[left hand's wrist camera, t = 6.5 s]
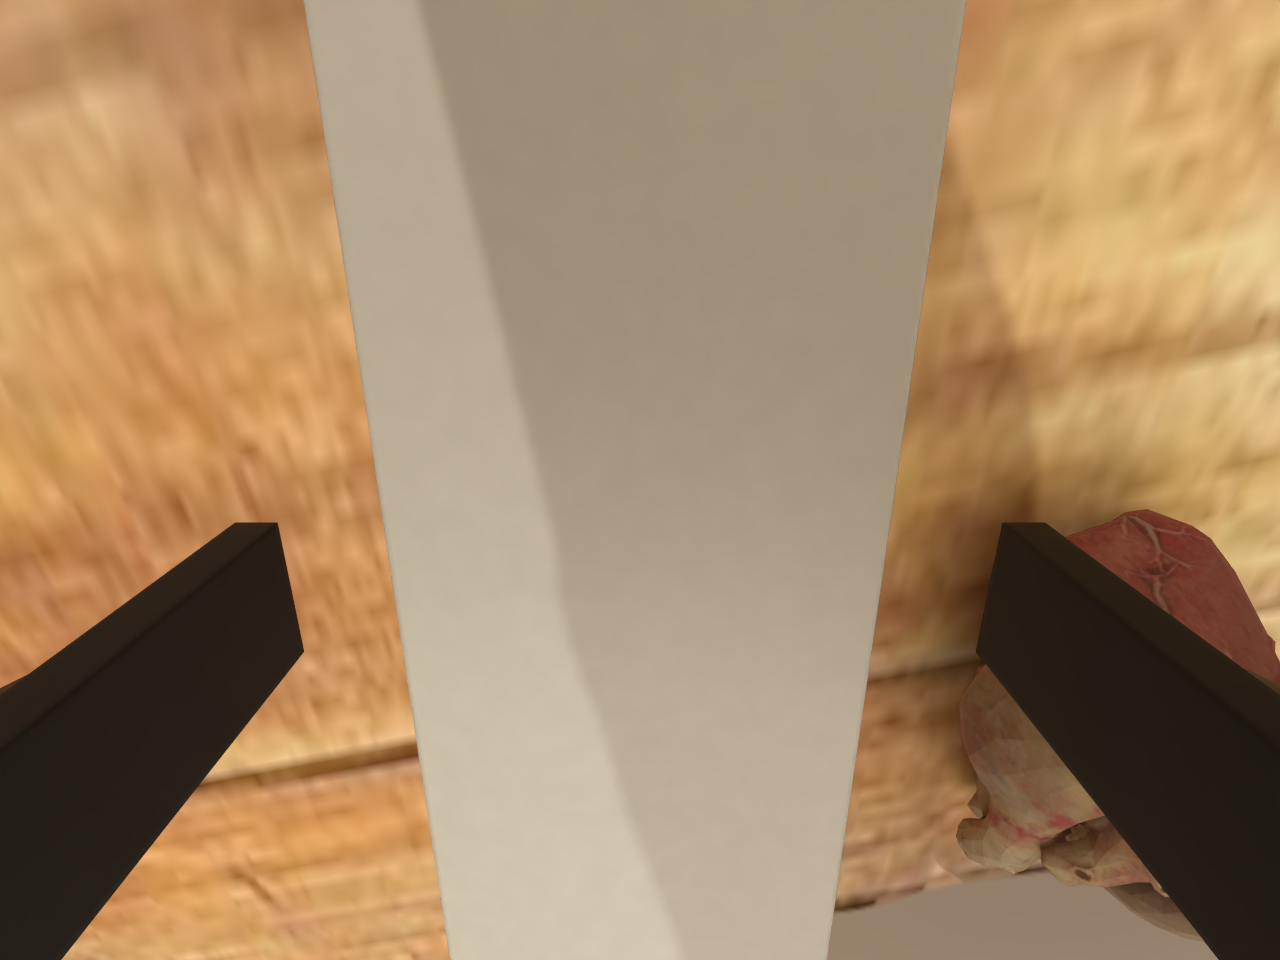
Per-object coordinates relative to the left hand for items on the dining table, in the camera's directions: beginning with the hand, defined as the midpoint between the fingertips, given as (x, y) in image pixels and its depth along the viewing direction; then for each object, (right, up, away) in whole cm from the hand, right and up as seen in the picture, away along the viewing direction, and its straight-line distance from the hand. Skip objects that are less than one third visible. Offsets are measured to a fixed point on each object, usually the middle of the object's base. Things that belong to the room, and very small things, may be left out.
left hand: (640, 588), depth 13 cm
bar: (0, +11, -1) cm, 11 cm away
